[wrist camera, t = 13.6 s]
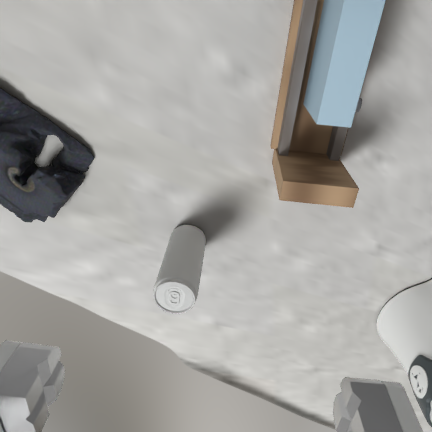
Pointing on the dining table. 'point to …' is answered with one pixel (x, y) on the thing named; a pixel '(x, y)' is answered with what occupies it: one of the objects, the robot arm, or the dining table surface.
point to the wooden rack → (306, 126)
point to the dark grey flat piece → (26, 168)
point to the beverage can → (180, 270)
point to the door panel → (341, 59)
